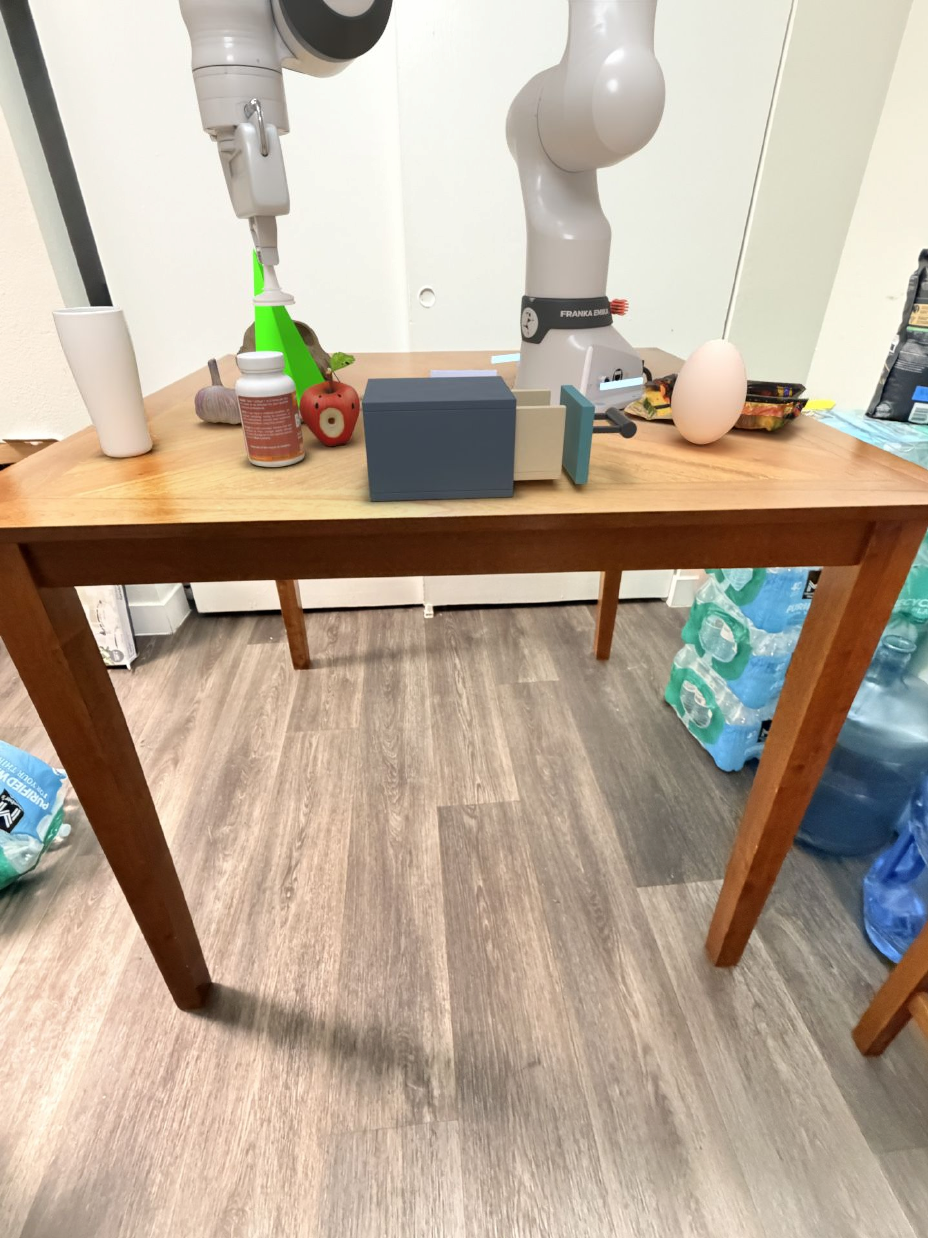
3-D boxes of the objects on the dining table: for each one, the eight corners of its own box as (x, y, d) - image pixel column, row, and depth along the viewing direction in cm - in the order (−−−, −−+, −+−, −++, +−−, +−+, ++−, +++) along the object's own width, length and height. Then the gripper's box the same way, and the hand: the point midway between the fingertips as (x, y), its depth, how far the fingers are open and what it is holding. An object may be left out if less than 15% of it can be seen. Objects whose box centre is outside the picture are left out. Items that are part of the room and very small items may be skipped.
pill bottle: (314, 462, 69) (299, 355, 63) (259, 472, 66) (239, 361, 61) (294, 448, 74) (278, 347, 68) (241, 457, 71) (221, 352, 65)
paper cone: (208, 265, 86) (257, 436, 84) (209, 236, 81) (260, 418, 79) (290, 265, 90) (337, 427, 89) (295, 238, 85) (345, 410, 84)
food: (660, 370, 95) (657, 395, 97) (614, 393, 82) (611, 421, 84) (820, 384, 85) (812, 411, 87) (796, 413, 72) (788, 444, 74)
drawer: (609, 453, 69) (617, 383, 65) (636, 482, 61) (647, 404, 57) (452, 457, 68) (451, 387, 64) (458, 487, 60) (457, 409, 56)
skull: (317, 383, 91) (287, 283, 88) (221, 415, 99) (189, 325, 95) (370, 381, 106) (346, 296, 103) (284, 410, 114) (259, 331, 110)
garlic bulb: (189, 421, 84) (174, 357, 80) (240, 412, 88) (229, 351, 84) (211, 432, 79) (196, 365, 75) (265, 422, 83) (254, 358, 79)
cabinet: (499, 462, 69) (501, 375, 64) (512, 497, 60) (516, 398, 55) (375, 466, 68) (368, 378, 63) (370, 501, 59) (361, 402, 54)
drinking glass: (83, 457, 71) (34, 311, 63) (130, 441, 77) (91, 305, 69) (127, 463, 69) (83, 313, 61) (173, 447, 74) (138, 307, 67)
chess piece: (269, 307, 71) (252, 201, 66) (244, 304, 74) (226, 203, 69) (304, 303, 75) (290, 202, 69) (279, 301, 77) (263, 204, 72)
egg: (653, 445, 74) (670, 340, 68) (679, 430, 79) (696, 332, 73) (722, 457, 70) (746, 346, 64) (743, 441, 75) (767, 337, 69)
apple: (347, 454, 72) (337, 361, 66) (294, 449, 73) (280, 358, 68) (374, 436, 78) (367, 350, 73) (325, 432, 80) (315, 348, 74)
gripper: (291, 95, 58) (313, 267, 65) (262, 125, 74) (282, 260, 81) (220, 92, 56) (251, 269, 63) (206, 124, 72) (232, 262, 79)
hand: (268, 264), depth 72 cm, fingers closed on chess piece
